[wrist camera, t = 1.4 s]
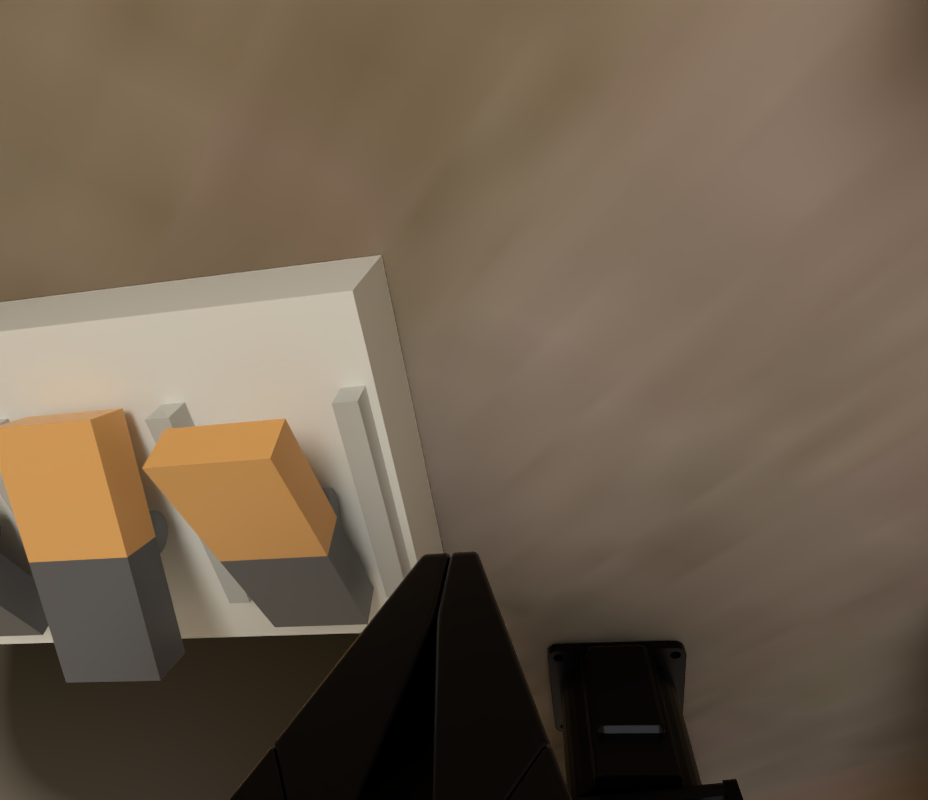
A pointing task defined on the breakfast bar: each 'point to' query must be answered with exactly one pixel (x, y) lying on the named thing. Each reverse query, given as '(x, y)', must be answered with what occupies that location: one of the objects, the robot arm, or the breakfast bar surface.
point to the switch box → (238, 407)
